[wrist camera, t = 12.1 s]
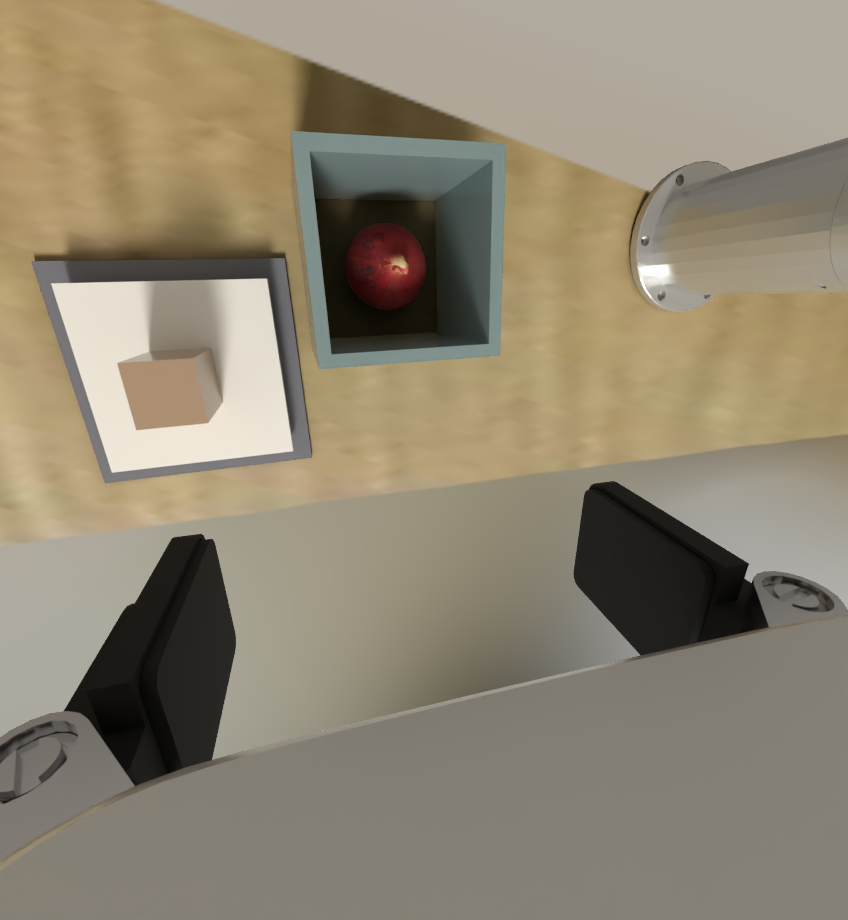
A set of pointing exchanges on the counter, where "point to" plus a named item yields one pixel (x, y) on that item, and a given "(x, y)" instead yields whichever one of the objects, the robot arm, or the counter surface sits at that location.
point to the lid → (178, 369)
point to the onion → (385, 266)
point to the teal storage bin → (456, 232)
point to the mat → (176, 272)
